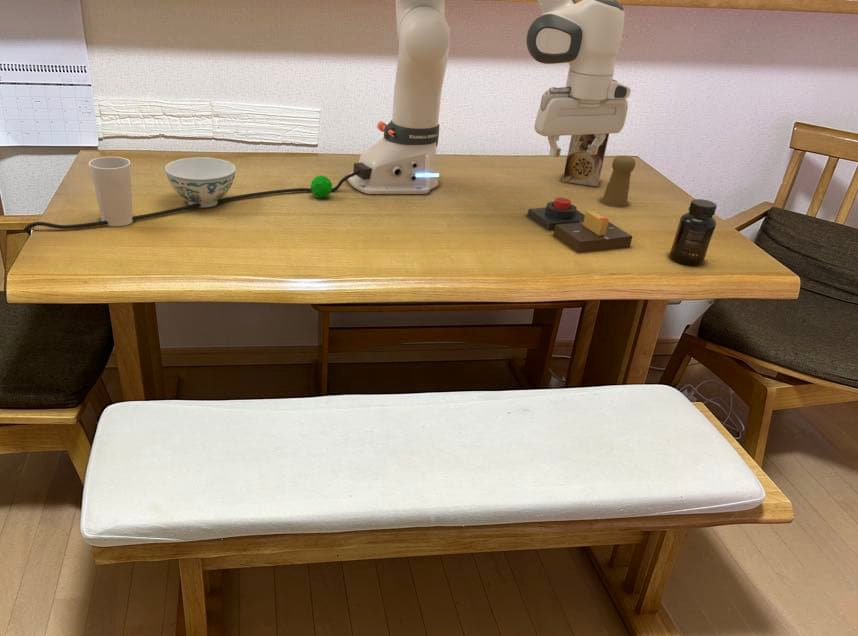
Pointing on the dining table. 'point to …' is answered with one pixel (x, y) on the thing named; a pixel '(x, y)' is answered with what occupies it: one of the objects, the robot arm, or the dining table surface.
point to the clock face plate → (591, 237)
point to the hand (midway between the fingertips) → (572, 155)
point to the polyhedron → (321, 186)
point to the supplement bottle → (694, 233)
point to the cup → (113, 189)
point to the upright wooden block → (595, 223)
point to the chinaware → (201, 179)
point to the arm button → (562, 203)
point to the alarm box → (555, 216)
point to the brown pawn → (619, 182)
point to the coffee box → (584, 161)
